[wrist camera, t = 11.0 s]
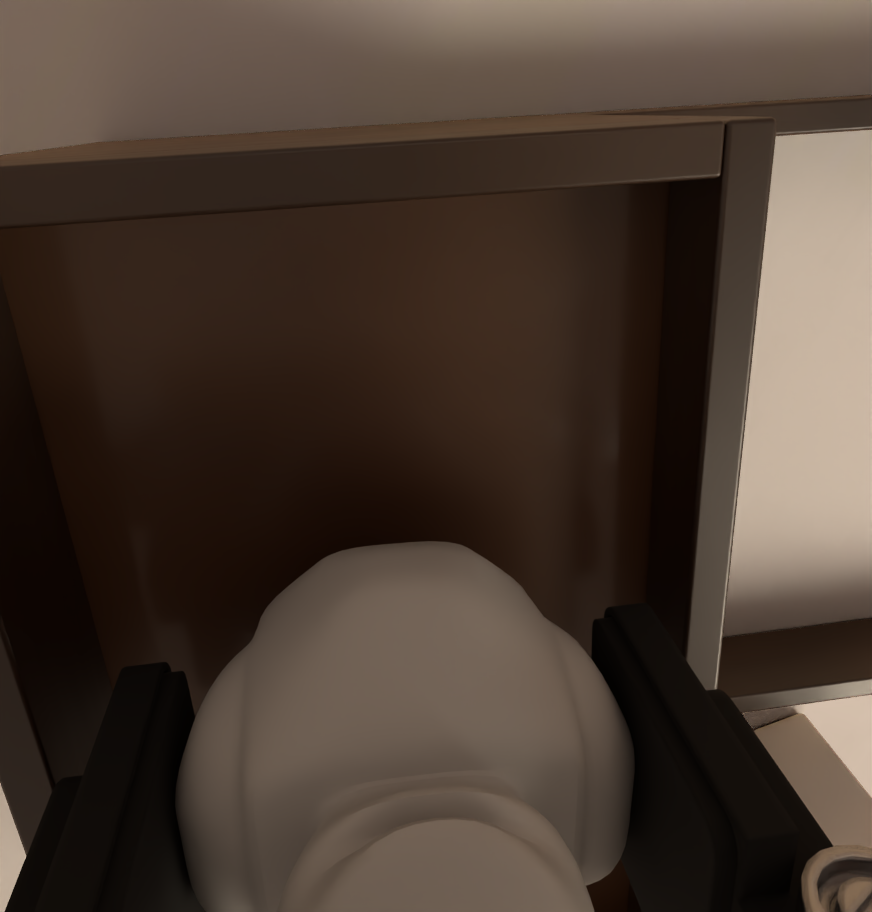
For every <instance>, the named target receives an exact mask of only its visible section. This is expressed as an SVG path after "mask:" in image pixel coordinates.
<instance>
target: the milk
mask: <svg viewBox="0 0 872 912" xmlns="http://www.w3.org/2000/svg"><path fill="white" fill-rule="evenodd" d="M753 731H754V732H755V734H756V735H757V737H758V738H759V739H760V741H761V742H762V744H763V745H764V747H765V748H766V750H767V751H768V752H769V754H770V755H771V757H772V758H773V760H774V761H775V762H776V764H777V765H778V767H779V768H780V770H781V771H782V773H783V774H784V775H785V777H786V778H787V780H788V781H789V783H790V784H791V785H792V787H793V788H794V790H795V791H796V793H797V794H798V796H799V797H800V798H801V800H802V801H803V803H804V804H805V806H806V807H807V808H808V810H809V811H810V813H811V814H812V816H813V817H814V819H815V820H816V821H817V823H818V824H819V826H820V827H821V829H822V830H823V831H824V833H825V834H826V836H827V837H828V839H829V840H830V841H831V843H832V844H833V846H836V845H861V846H865V847H869V848H872V798H871V796H870V795H869V794H868V793H867V791H866V790H865V789H864V788H863V786H862V785H861V784H860V783H859V781H858V780H857V779H856V778H855V776H854V775H853V774H852V773H851V771H850V770H849V769H848V768H847V766H846V765H845V764H844V763H843V762H842V760H841V759H840V758H839V757H838V755H837V754H836V753H835V752H834V750H833V749H832V748H831V747H830V745H829V744H828V743H827V742H826V740H825V739H824V738H823V737H822V735H821V734H820V733H819V732H818V730H817V729H816V728H815V727H814V725H813V724H812V723H811V722H810V721H809V719H808V718H807V717H806V716H805V715H804V714H797V715H794V716H791V717H789V718H786V719H783V720H780V721H778V722H775V723H772V724H769V725H767V726H764V727H761V728H759V729H756V730H753Z"/></svg>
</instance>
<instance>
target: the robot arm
mask: <svg viewBox="0 0 872 912" xmlns="http://www.w3.org/2000/svg"><path fill="white" fill-rule="evenodd" d="M591 659H592V661H593V662H594V663H595V665H596V666H597V668H598V669H599V671H600V672H601V674H602V675H603V677H604V679H605V681H606V683H607V684H608V686H609V688H610V690H611V692H612V693H613V695H614V697H615V699H616V701H617V703H618V705H619V707H620V709H621V711H622V713H623V716H624V718H625V720H626V722H627V725H628V727H629V730H630V734H631V737H632V741H633V745H634V754H635V774H634V784H633V794H632V803H631V813H630V823H629V829H628V835H627V840H626V845H625V848H624V851H623V853H622V856H621V861H622V863H623V866H624V868H625V871H626V873H627V876H628V878H629V881H630V883H631V886H632V888H633V891H634V893H635V896H636V898H637V901H638V903H639V906H640V908H641V911H642V912H872V848H869V847H865V846H861V845H836V846H833V844H832V843H831V841H830V840H829V839H828V837H827V836H826V834H825V833H824V831H823V830H822V829H821V827H820V826H819V824H818V823H817V821H816V820H815V819H814V817H813V816H812V814H811V813H810V811H809V810H808V808H807V807H806V806H805V804H804V803H803V801H802V800H801V798H800V797H799V796H798V794H797V793H796V791H795V790H794V788H793V787H792V785H791V784H790V783H789V781H788V780H787V778H786V777H785V775H784V774H783V773H782V771H781V770H780V768H779V767H778V765H777V764H776V762H775V761H774V760H773V758H772V757H771V755H770V754H769V752H768V751H767V750H766V748H765V747H764V745H763V744H762V742H761V741H760V739H759V738H758V737H757V735H756V734H755V732H754V731H753V729H752V728H751V727H750V725H749V724H748V722H747V721H746V719H745V718H744V716H743V715H742V714H741V712H740V711H739V709H738V708H737V706H736V705H735V704H734V702H733V701H732V699H731V698H730V697H729V696H728V695H727V694H726V693H725V692H724V691H722V690H720V689H714V690H706V689H705V688H704V686H703V685H702V683H701V682H700V680H699V679H698V677H697V676H696V674H695V673H694V671H693V670H692V668H691V667H690V665H689V664H688V662H687V661H686V659H685V658H684V656H683V655H682V653H681V652H680V650H679V649H678V647H677V646H676V644H675V643H674V641H673V640H672V638H671V637H670V635H669V634H668V632H667V631H666V629H665V628H664V626H663V625H662V623H661V622H660V620H659V619H658V617H657V615H656V614H655V612H654V611H653V609H652V608H651V607H650V606H649V604H647V603H636V604H628V605H620V606H612V607H608V608H606V610H605V613H604V618H599V619H595V620H594V621H593V625H592V653H591ZM194 720H195V714H194V709H193V705H192V700H191V696H190V691H189V687H188V682H187V678H186V675H185V673H184V671H175V672H172V671H171V668H170V666H169V664H168V663H167V662H159V663H151V664H143V665H135V666H127V667H124V668H122V669H121V671H120V673H119V676H118V679H117V681H116V684H115V687H114V690H113V693H112V695H111V698H110V701H109V704H108V707H107V709H106V712H105V715H104V718H103V721H102V723H101V726H100V729H99V732H98V735H97V737H96V740H95V743H94V746H93V749H92V751H91V754H90V757H89V760H88V763H87V765H86V768H85V771H84V774H83V775H80V776H73V777H65V778H62V779H61V780H60V781H59V782H57V784H56V785H55V787H54V789H53V791H52V793H51V795H50V798H49V801H48V803H47V806H46V808H45V811H44V813H43V816H42V818H41V821H40V823H39V826H38V828H37V831H36V833H35V836H34V839H33V841H32V844H31V846H30V849H29V851H28V854H27V856H26V859H25V861H24V864H23V866H22V869H21V871H20V874H19V877H18V879H17V882H16V884H15V887H14V889H13V892H12V894H11V897H10V899H9V902H8V904H7V907H6V910H5V912H206V911H205V910H204V908H203V907H202V906H201V904H200V903H199V901H198V899H197V897H196V895H195V893H194V891H193V889H192V886H191V882H190V879H189V875H188V871H187V866H186V862H185V857H184V852H183V847H182V841H181V836H180V831H179V826H178V821H177V816H176V809H175V792H176V783H177V778H178V772H179V767H180V763H181V760H182V756H183V753H184V750H185V747H186V744H187V740H188V737H189V734H190V731H191V728H192V725H193V722H194Z"/></svg>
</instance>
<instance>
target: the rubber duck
mask: <svg viewBox="0 0 872 912" xmlns="http://www.w3.org/2000/svg"><path fill="white" fill-rule="evenodd" d="M634 774H635V754H634V745H633V741H632V737H631V734H630V730H629V727H628V725H627V722H626V720H625V718H624V716H623V713H622V711H621V709H620V707H619V705H618V703H617V701H616V699H615V697H614V695H613V693H612V692H611V690H610V688H609V686H608V684H607V683H606V681H605V679H604V677H603V675H602V674H601V672H600V671H599V669H598V668H597V666H596V665H595V663H594V662H593V661H592V659H591V658H590V657H589V655H588V654H587V652H586V651H585V650H584V649H583V648H582V647H581V645H580V644H579V643H578V642H577V641H576V640H575V639H574V638H573V637H572V636H571V635H569V634H568V633H567V632H565V631H564V630H562V629H561V628H559V627H558V626H557V625H555V624H554V623H552V622H551V621H549V620H548V619H546V618H545V617H544V616H543V615H542V614H541V612H540V611H539V610H538V608H537V607H536V605H535V604H534V603H533V601H532V600H531V599H530V598H529V596H528V595H527V593H526V592H525V590H524V589H523V588H522V586H521V585H519V584H518V583H517V582H516V581H515V580H514V579H513V578H512V577H511V576H509V575H508V574H507V573H505V572H504V571H502V570H501V569H500V568H498V567H497V566H495V565H494V564H493V563H491V562H490V561H488V560H487V559H485V558H484V557H482V556H480V555H479V554H477V553H475V552H474V551H472V550H471V549H469V548H467V547H465V546H463V545H460V544H455V543H450V542H436V541H425V542H407V543H395V544H383V545H372V546H364V547H357V548H352V549H347V550H342V551H339V552H336V553H334V554H331V555H329V556H327V557H325V558H323V559H321V560H320V561H319V562H318V563H316V564H315V565H314V566H312V567H311V568H310V569H309V570H307V571H306V572H305V573H304V574H302V575H301V576H300V577H299V578H298V579H296V580H295V581H294V582H293V583H291V584H290V585H289V586H288V587H287V588H285V589H284V590H283V591H282V592H281V593H280V594H279V595H278V596H276V597H275V599H274V600H273V601H272V602H271V603H270V604H269V605H268V606H267V608H266V609H265V611H264V613H263V614H262V616H261V618H260V621H259V624H258V628H257V630H256V632H255V635H254V637H253V639H252V640H251V642H250V643H249V644H248V645H247V646H246V647H245V648H244V649H243V650H241V651H240V652H239V653H238V654H237V655H236V656H235V657H234V658H233V659H232V660H231V661H230V662H229V663H228V664H227V666H226V667H225V668H224V669H223V670H222V672H221V673H220V674H219V676H218V677H217V679H216V680H215V682H214V683H213V685H212V686H211V688H210V689H209V691H208V693H207V694H206V696H205V698H204V700H203V702H202V704H201V706H200V708H199V710H198V713H197V715H196V717H195V720H194V722H193V725H192V728H191V731H190V734H189V737H188V740H187V744H186V747H185V750H184V753H183V756H182V760H181V763H180V767H179V772H178V778H177V783H176V792H175V809H176V816H177V821H178V826H179V831H180V836H181V841H182V847H183V852H184V857H185V862H186V866H187V871H188V875H189V879H190V882H191V886H192V889H193V891H194V893H195V895H196V897H197V899H198V901H199V903H200V904H201V906H202V907H203V908H204V910H205V911H206V912H595V911H594V908H593V905H592V902H591V898H590V896H589V893H588V890H587V888H586V885H589V884H592V883H594V882H597V881H599V880H601V879H603V878H604V877H605V876H607V875H608V874H610V873H611V871H612V870H613V869H614V867H615V866H616V864H617V863H618V861H619V860H620V858H621V856H622V853H623V851H624V848H625V845H626V840H627V835H628V829H629V823H630V813H631V803H632V794H633V784H634Z"/></svg>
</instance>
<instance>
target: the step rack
mask: <svg viewBox="0 0 872 912" xmlns="http://www.w3.org/2000/svg"><path fill="white" fill-rule="evenodd" d="M859 130H872V95H857V96H841V97H825V98H809V99H792V100H776V101H760V102H743V103H727V104H711V105H695V106H678V107H662V108H646V109H630V110H613V111H597V112H581V113H565V114H554V115H552V114H548V115H532V116H516V117H499V118H483V119H467V120H451V121H434V122H418V123H402V124H385V125H369V126H353V127H337V128H320V129H304V130H288V131H272V132H255V133H239V134H223V135H207V136H190V137H174V138H158V139H141V140H125V141H109V142H96V143H88V144H81V145H74V146H66V147H59V148H51V149H44V150H36V151H29V152H22V153H14V154H7V155H0V783H1V786H2V788H3V791H4V794H5V797H6V800H7V802H8V805H9V808H10V811H11V814H12V816H13V819H14V822H15V825H16V828H17V830H18V833H19V836H20V839H21V842H22V844H23V847H24V850H25V853H26V856H27V854H28V851H29V849H30V846H31V844H32V841H33V839H34V836H35V833H36V831H37V828H38V826H39V823H40V821H41V818H42V816H43V813H44V811H45V808H46V806H47V803H48V801H49V798H50V795H51V793H52V791H53V789H54V787H55V785H56V784H57V782H59V781H60V780H61V779H62V778H65V777H73V776H80V775H83V774H84V771H85V768H86V765H87V763H88V760H89V757H90V754H91V751H92V749H93V746H94V743H95V740H96V737H97V735H98V732H99V729H100V726H101V723H102V721H103V718H104V715H105V712H106V709H107V707H108V704H109V701H110V698H111V695H112V693H113V690H114V687H115V684H116V681H117V679H118V676H119V673H120V671H121V669H122V668H124V667H127V666H135V665H143V664H151V663H159V662H167V663H168V664H169V666H170V668H171V671H172V672H175V671H184V673H185V675H186V678H187V682H188V687H189V691H190V696H191V700H192V705H193V709H194V714H195V717H196V715H197V713H198V710H199V708H200V706H201V704H202V702H203V700H204V698H205V696H206V694H207V693H208V691H209V689H210V688H211V686H212V685H213V683H214V682H215V680H216V679H217V677H218V676H219V674H220V673H221V672H222V670H223V669H224V668H225V667H226V666H227V664H228V663H229V662H230V661H231V660H232V659H233V658H234V657H235V656H236V655H237V654H238V653H239V652H240V651H241V650H243V649H244V648H245V647H246V646H247V645H248V644H249V643H250V642H251V640H252V639H253V637H254V635H255V632H256V630H257V628H258V624H259V621H260V618H261V616H262V614H263V613H264V611H265V609H266V608H267V606H268V605H269V604H270V603H271V602H272V601H273V600H274V599H275V597H276V596H278V595H279V594H280V593H281V592H282V591H283V590H284V589H285V588H287V587H288V586H289V585H290V584H291V583H293V582H294V581H295V580H296V579H298V578H299V577H300V576H301V575H302V574H304V573H305V572H306V571H307V570H309V569H310V568H311V567H312V566H314V565H315V564H316V563H318V562H319V561H320V560H321V559H323V558H325V557H327V556H329V555H331V554H334V553H336V552H339V551H342V550H347V549H352V548H357V547H364V546H372V545H383V544H395V543H407V542H425V541H436V542H450V543H455V544H460V545H463V546H465V547H467V548H469V549H471V550H472V551H474V552H475V553H477V554H479V555H480V556H482V557H484V558H485V559H487V560H488V561H490V562H491V563H493V564H494V565H495V566H497V567H498V568H500V569H501V570H502V571H504V572H505V573H507V574H508V575H509V576H511V577H512V578H513V579H514V580H515V581H516V582H517V583H518V584H519V585H521V586H522V588H523V589H524V590H525V592H526V593H527V595H528V596H529V598H530V599H531V600H532V601H533V603H534V604H535V605H536V607H537V608H538V610H539V611H540V612H541V614H542V615H543V616H544V617H545V618H546V619H548V620H549V621H551V622H552V623H554V624H555V625H557V626H558V627H559V628H561V629H562V630H564V631H565V632H567V633H568V634H569V635H571V636H572V637H573V638H574V639H575V640H576V641H577V642H578V643H579V644H580V645H581V647H582V648H583V649H584V650H585V651H586V652H587V654H588V655H589V657H590V658H591V653H592V625H593V621H594V620H595V619H599V618H604V613H605V610H606V608H608V607H612V606H620V605H628V604H636V603H647V604H649V606H650V607H651V608H652V609H653V611H654V612H655V614H656V615H657V617H658V619H659V620H660V622H661V623H662V625H663V626H664V628H665V629H666V631H667V632H668V634H669V635H670V637H671V638H672V640H673V641H674V643H675V644H676V646H677V647H678V649H679V650H680V652H681V653H682V655H683V656H684V658H685V659H686V661H687V662H688V664H689V665H690V667H691V668H692V670H693V671H694V673H695V674H696V676H697V677H698V679H699V680H700V682H701V683H702V685H703V686H704V688H705V689H706V690H714V689H720V690H722V691H724V692H725V693H726V694H727V695H728V696H729V697H730V698H731V699H732V701H733V702H734V704H735V705H736V706H737V708H738V709H739V711H740V712H741V713H743V712H750V711H757V710H764V709H771V708H778V707H785V706H792V705H800V704H807V703H814V702H821V701H828V700H835V699H842V698H850V697H857V696H864V695H871V694H872V618H869V619H862V620H854V621H846V622H839V623H831V624H823V625H816V626H808V627H800V628H793V629H785V630H777V631H770V632H762V633H754V634H746V635H739V636H731V637H723V629H724V620H725V610H726V601H727V591H728V582H729V572H730V563H731V553H732V544H733V534H734V525H735V515H736V506H737V496H738V487H739V477H740V468H741V458H742V449H743V439H744V430H745V420H746V411H747V401H748V392H749V382H750V373H751V363H752V354H753V345H754V335H755V326H756V316H757V307H758V297H759V288H760V278H761V269H762V259H763V250H764V240H765V231H766V221H767V212H768V202H769V193H770V183H771V174H772V164H773V155H774V145H775V136H783V135H798V134H813V133H828V132H843V131H859ZM586 888H587V890H588V893H589V896H590V898H591V902H592V905H593V908H594V911H595V912H642V911H641V908H640V906H639V903H638V901H637V898H636V896H635V893H634V891H633V888H632V886H631V883H630V881H629V878H628V876H627V873H626V871H625V868H624V866H623V863H622V861H621V858H620V860H619V861H618V863H617V864H616V866H615V867H614V869H613V870H612V871H611V873H610V874H608V875H607V876H605V877H604V878H603V879H601V880H599V881H597V882H594V883H592V884H589V885H586Z"/></svg>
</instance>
